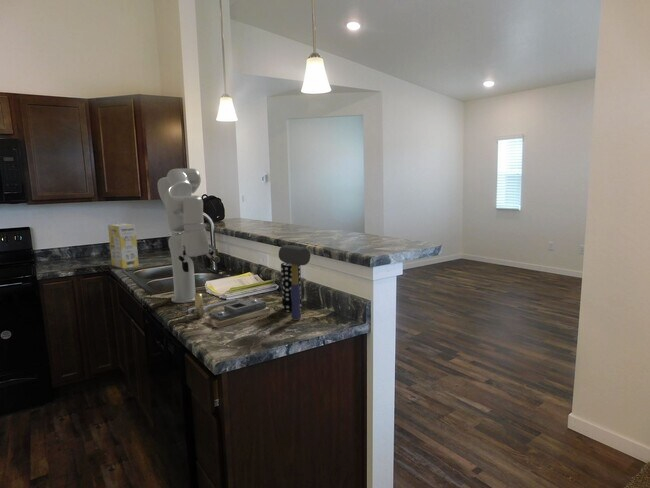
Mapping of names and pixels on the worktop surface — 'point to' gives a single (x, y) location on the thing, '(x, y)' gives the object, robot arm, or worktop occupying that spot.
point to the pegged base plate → (238, 309)
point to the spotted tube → (288, 286)
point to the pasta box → (123, 245)
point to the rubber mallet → (295, 272)
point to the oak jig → (236, 318)
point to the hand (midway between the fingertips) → (197, 269)
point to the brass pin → (198, 305)
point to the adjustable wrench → (215, 305)
